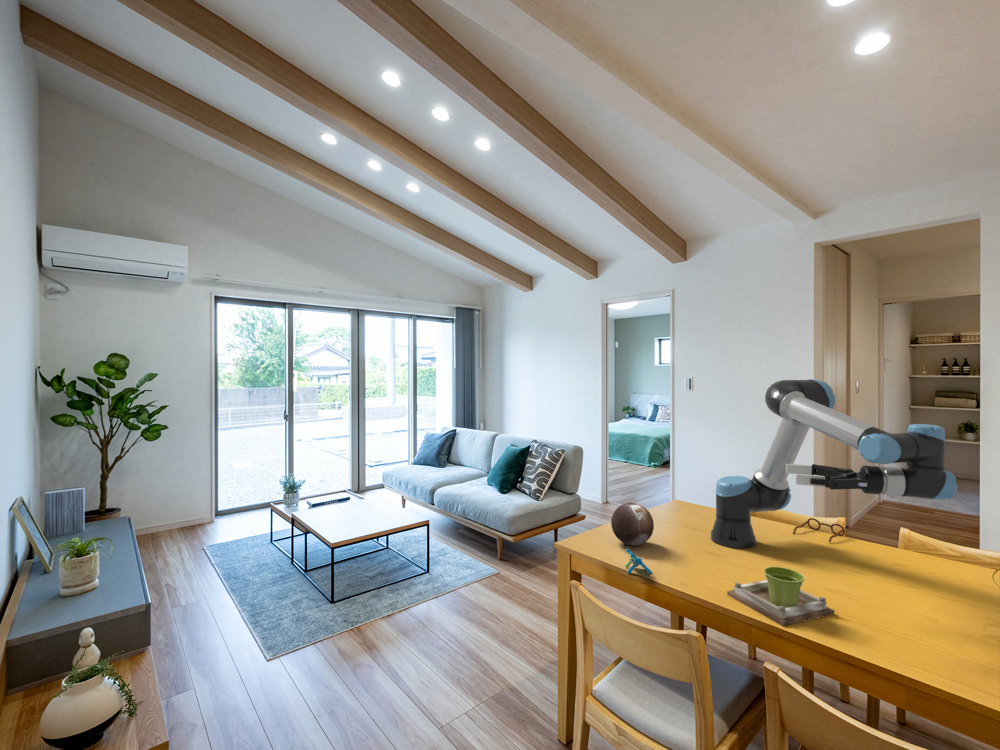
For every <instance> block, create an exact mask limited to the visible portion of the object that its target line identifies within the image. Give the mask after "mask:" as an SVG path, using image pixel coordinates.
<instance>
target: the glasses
mask: <svg viewBox="0 0 1000 750" xmlns="http://www.w3.org/2000/svg"><path fill="white" fill-rule="evenodd" d="M810 521H815V522H816V523H817V524H818V527H817V528H814V527H813V526H811V525H810ZM805 525H807V526H808V527H809V529H811V530H815V531H818V530H820V529H821V526H826V527H829V528H830V531H831V532H832V534H833V535H831V536H830V537H829V540H828V542H831V543H832V539H833V538H836V537H843V536H844V535H845V533H846V529H845V528H844V527H843V525H841V524H839V523H833V524H827V523H824V522H820V521H819V520H818V519H816V518H814V517H810V518H808V519H807V520H806V521H804V523H802V524H801V525H797V526H795V527H794V529H793V531H792V535H795V534H796V532H797V529H799V528H800V529H801V528H803V527H804V526H805ZM834 526H837V527H839V528H840V530H839V531H838V532H837V533H836V532H835V531H834V528H833V527H834Z"/></svg>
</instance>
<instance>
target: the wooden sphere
mask: <svg viewBox="0 0 1000 750" xmlns="http://www.w3.org/2000/svg"><path fill="white" fill-rule="evenodd" d="M610 523H611V526H610V527H611V530H612V532H613V534H614V535H615V537H616V538H617V539H618V540H619V541H620V542H622V544H625V545H628V546H633V547H635V546H640V545H644V544H645V543H647V541H649V540H650V538H651V537H652V535H653V532H654V529H655V527H654V526H655V525H654V519H653V516H652V514H651V513H650V511H649V510H648V509H647V508H646V507H645V506H643V505H641V504H639V503H636V502H626V503H623V504H621V505H619V506H617V508H616V509H615V510H614V511H613V513H612V515H611V521H610Z"/></svg>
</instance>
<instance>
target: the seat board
mask: <svg viewBox="0 0 1000 750" xmlns="http://www.w3.org/2000/svg"><path fill="white" fill-rule="evenodd" d="M726 592H727V593H726V594H727V596H729V597H731V598H732V599H734V600H735V601H738V602H740V603H741V604H743V605H745V606H746V607H748V608H750V609H752V610H753V611H756V612H757V613H759V614H761V615H763V616H765V617H766V618H767V619H769V620H771V621H773V622H774V623H777V624H778V625H780V626H782V627H785V626H790V625H794V624H798V623H797V622H799V623H802V622H801V621H803V622H805V621H804V620H807V621H809V620H808V619H811V620H813V619H812V618H816V619H818V618H817V617H820V618H823V617H822V616H824V617H827V616H826V615H828V616H832V615H831V614H833V615H835V614H834V613H836V612H835V609H833V608H830V607H828V606H827V599H826V597H823V596H820V597H817V596H814V595H813V594H810V593H808V592H806V591H805V590H802V589H800V593H799V598H798V604H797V605H796V606H792V607H787V608H785V607H784V606H779V607H778V606H776V605H774V604H772V603H770V596H769V589H768V581H767V579H766V580H760V581H754V582H749V583H744V584H741V583H739V582H735V583H734V589H732V590H727V591H726ZM793 623H794V624H793Z"/></svg>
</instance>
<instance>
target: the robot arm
mask: <svg viewBox="0 0 1000 750" xmlns="http://www.w3.org/2000/svg"><path fill="white" fill-rule="evenodd" d="M764 399H765V404H766V406H767V408H768V410H770V412H772V413H773V414H775V415H776V416H778V417H781V422H780V423H779V426H778V429H777V431H776V434H775V436H774V438H773V440H772V443H771V446H770V447H769V449H768V452H767V454H766V457H765V460H764V462H763V464H762V467H761V468H760V469H759V468H758V469H756V470H755V471H754V474H753V476H752V478H751V479H750V478H749V477H745V476H743V475H742V476H741V475H736V476H735V475H728V476H723V477H721V478H719V479H718V480H717V481H716V483H715V484H716V487H715V520H714V523H713V527H712V529H711V530H710V539H711V541H712V542H714V543H715V544H718V545H721V546H724V547H729V548H736V549H750V548H754V547H756V545H757V537H756V535H755V533H754V528H753V525H752V523H751V514H752V513H759V512H775V511H779V510H784V508H786V507H787V506H788V505H789V503H790V502H791V499H792V494H791V488H790V486H789V485H790V484H789V481H788V476H789V475H790V474H792V475H795V485H801V486H811V487H812V486H814V487H825V488H827V489H829V490H831V491H833V490H861V492H863V493H864V494H871V495H880V494H882V495H884V496H885V495H886V496H890V497H891V498H892V499H894V498H895V497H897V496H898V497H906V498H907V497H908V498H910V497H911V498H918V499H926V500H927V499H929V500H942V501H943V500H946V501H948V500H951V499H953V498H954V497H955V496H956V494H957V492H958V491H957V490H958V484H957V478H956V476H955V474H953V473H952V472H951V471H947V470H945V460H946V459H945V457H946V456H945V455H946V443H947V440H946V430H945V428H944V427H942V426H940V425H936V424H929V423H928V424H927V423H926V424H925V423H912V424H910V425H908V427H907V430H906V432H899V433H895V432H892V433H891V432H888V431H886V430H883V429H880V428H878V427H876V426H873V425H871V424H869V423H867V422H864V421H862V420H859V419H857V418H855V417H853V416H850V415H848V414H846V413H843V412H841V411H838V410H836V409H835V405H836V396H835V394H834V390H833V389H832V387H831V386H830V384H828V383H827V382H825V381H823V380H820V379H819V380H818V379H781V380H778V381H776V382H774V383H772V384H770V386H769V387H768V388H767V389H766V392H765V396H764ZM810 428H811V429H813V430H816V431H817V432H819V433H821V434H823V435H825V436H828V437H829V438H832V439H834V440H836V441H838V442H839V443H842V444H844V445H846V446H849V447H850V448H852V449H854V450H857V451H858V452H859V454H860V455H861V456H862V458H863V459H864V460H865V461H866V462H869V463H872V464H880V465H889V464H899V463H906V467H902V468H901V467H897V466H880V467H879V466H875V465H862V466H861V467H860V469H859V472H856V471H854V470H853V469H852V468H842V467H835V466H830V465H829V466H828V465H820V464H815V463H812V464H811V465H807V464H795V462H796V459H797V456H798V454H799V453H800V450H801V448H802V445H803V444H804V441H805V439H806V437H807V435H808V432H809V430H810Z"/></svg>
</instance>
